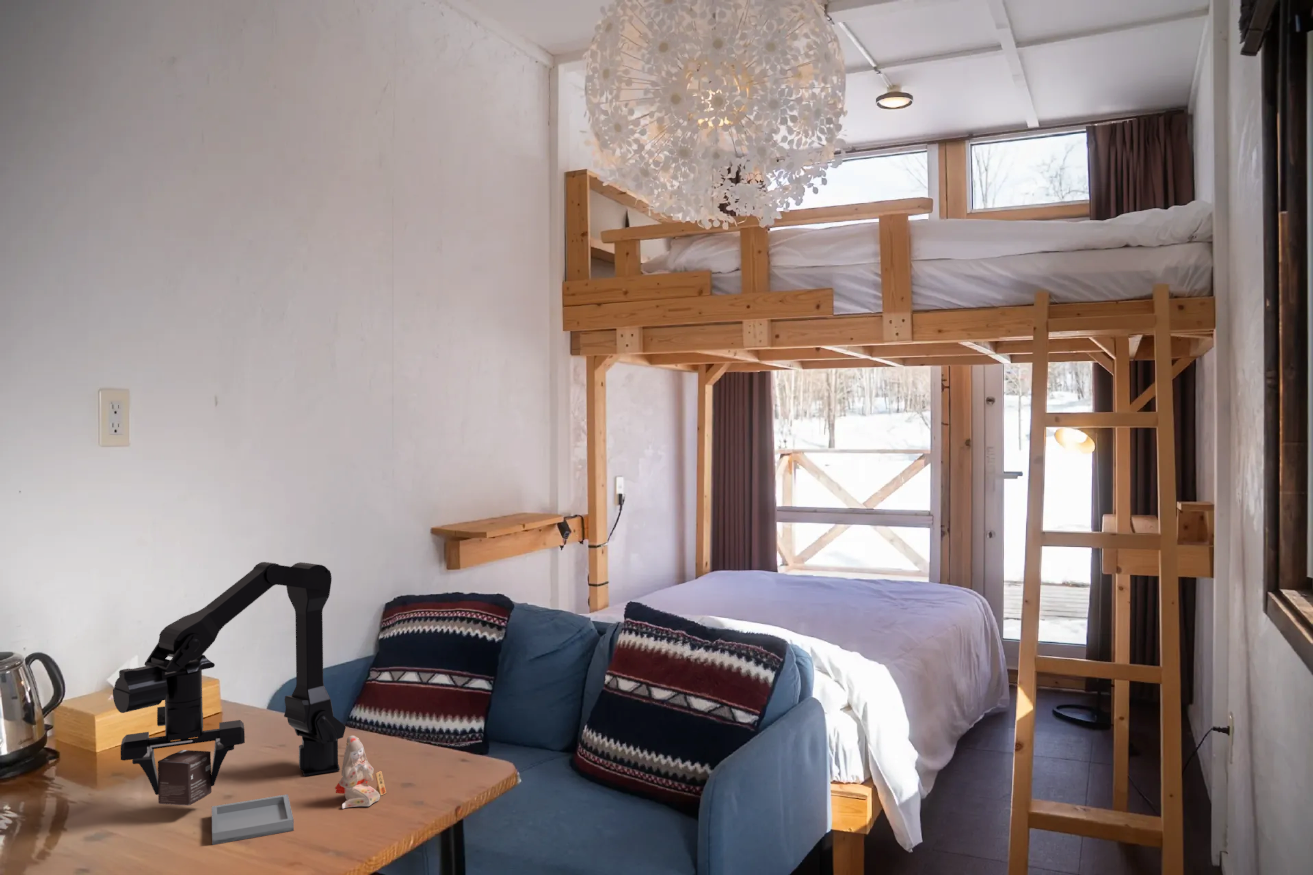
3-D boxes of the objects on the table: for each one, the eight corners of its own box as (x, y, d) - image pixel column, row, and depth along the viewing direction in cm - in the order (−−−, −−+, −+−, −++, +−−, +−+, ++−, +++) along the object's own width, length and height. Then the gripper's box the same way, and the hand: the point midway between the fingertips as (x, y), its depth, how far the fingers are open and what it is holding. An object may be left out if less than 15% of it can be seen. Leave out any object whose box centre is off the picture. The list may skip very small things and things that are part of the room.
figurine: (356, 813, 161) (345, 743, 162) (330, 811, 165) (320, 742, 165) (397, 793, 169) (386, 726, 169) (371, 791, 173) (361, 725, 173)
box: (188, 806, 159) (188, 763, 159) (157, 804, 160) (156, 760, 160) (212, 792, 165) (211, 750, 165) (181, 790, 166) (181, 748, 166)
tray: (287, 804, 166) (287, 794, 166) (293, 830, 155) (293, 819, 155) (211, 816, 160) (211, 806, 160) (212, 844, 150) (212, 833, 150)
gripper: (241, 680, 173) (243, 765, 173) (124, 693, 165) (126, 783, 165) (244, 695, 163) (245, 786, 163) (119, 710, 155) (121, 805, 155)
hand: (185, 789), depth 162 cm, fingers closed on box, 8 cm apart
